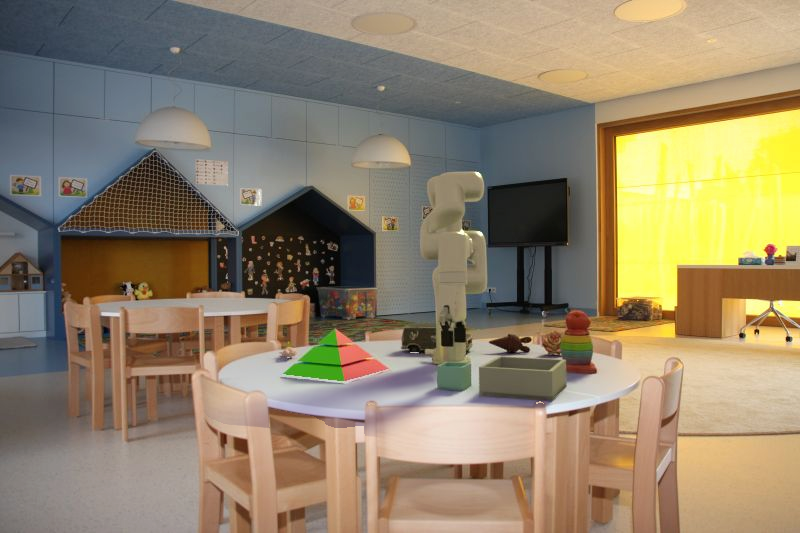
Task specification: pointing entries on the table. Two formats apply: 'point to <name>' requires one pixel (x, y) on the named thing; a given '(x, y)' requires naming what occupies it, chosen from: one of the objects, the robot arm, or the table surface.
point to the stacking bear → (577, 344)
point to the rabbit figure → (288, 351)
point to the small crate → (454, 376)
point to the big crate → (522, 378)
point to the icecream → (512, 343)
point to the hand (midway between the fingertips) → (453, 344)
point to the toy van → (424, 337)
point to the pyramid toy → (336, 360)
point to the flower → (552, 342)
